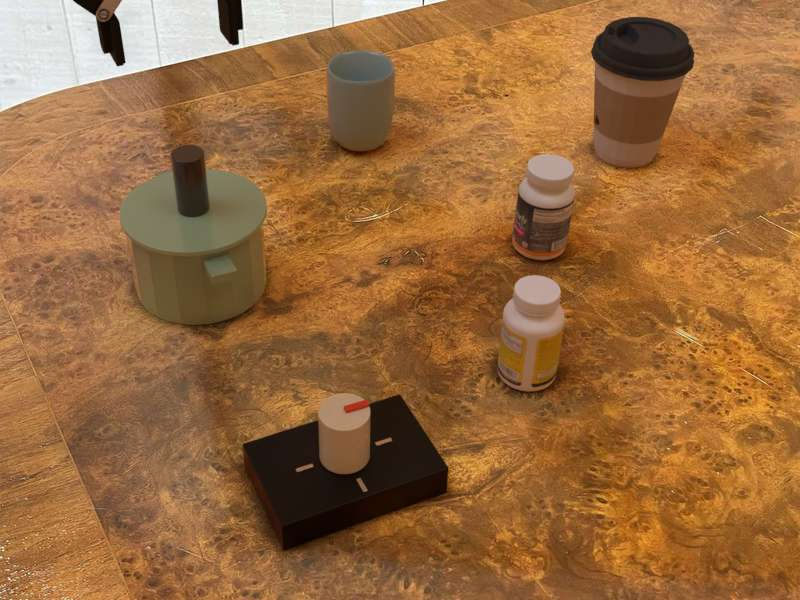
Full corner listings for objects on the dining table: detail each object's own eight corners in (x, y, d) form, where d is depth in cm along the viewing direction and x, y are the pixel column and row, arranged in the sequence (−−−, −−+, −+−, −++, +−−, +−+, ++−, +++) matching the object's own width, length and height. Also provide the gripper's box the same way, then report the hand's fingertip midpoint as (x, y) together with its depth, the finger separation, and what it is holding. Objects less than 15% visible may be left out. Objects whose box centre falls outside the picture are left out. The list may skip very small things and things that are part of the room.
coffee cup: (577, 122, 131) (595, 7, 122) (671, 132, 130) (696, 17, 121) (574, 172, 123) (593, 53, 113) (674, 183, 122) (702, 63, 112)
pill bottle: (507, 231, 114) (516, 151, 107) (559, 229, 114) (572, 149, 108) (517, 263, 109) (527, 182, 103) (571, 261, 110) (585, 181, 103)
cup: (387, 123, 130) (389, 48, 124) (398, 157, 124) (400, 80, 118) (323, 127, 129) (322, 51, 122) (331, 162, 123) (330, 84, 116)
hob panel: (283, 551, 81) (281, 524, 79) (244, 468, 87) (242, 442, 85) (446, 492, 86) (449, 466, 84) (399, 418, 92) (400, 392, 90)
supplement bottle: (557, 356, 99) (571, 274, 92) (553, 397, 95) (568, 314, 88) (499, 348, 99) (509, 266, 93) (493, 389, 95) (503, 305, 89)
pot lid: (142, 277, 93) (131, 210, 89) (105, 195, 103) (94, 132, 98) (288, 240, 98) (285, 175, 94) (240, 165, 107) (235, 103, 103)
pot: (164, 357, 97) (153, 285, 92) (116, 247, 109) (103, 178, 104) (294, 321, 101) (291, 250, 96) (233, 219, 114) (227, 151, 108)
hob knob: (330, 480, 83) (329, 433, 79) (312, 445, 85) (310, 398, 82) (377, 465, 84) (378, 419, 81) (358, 431, 87) (358, 384, 83)
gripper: (244, -191, 84) (257, 13, 95) (19, -168, 78) (60, 47, 89) (278, -163, 79) (287, 49, 90) (39, -136, 73) (80, 88, 84)
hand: (174, 48), depth 89 cm, fingers open, 9 cm apart
